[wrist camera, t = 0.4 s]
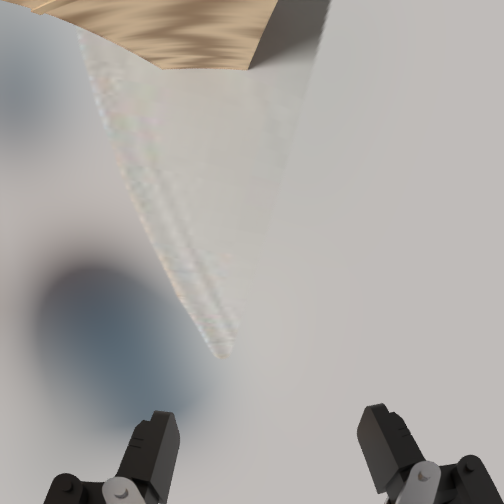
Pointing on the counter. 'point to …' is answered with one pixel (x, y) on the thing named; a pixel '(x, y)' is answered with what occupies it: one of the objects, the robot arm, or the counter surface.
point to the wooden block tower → (171, 28)
